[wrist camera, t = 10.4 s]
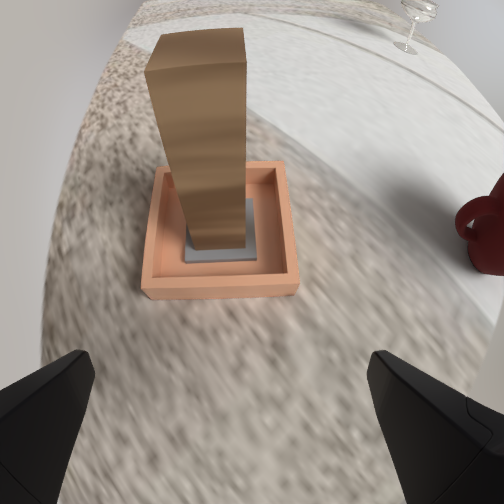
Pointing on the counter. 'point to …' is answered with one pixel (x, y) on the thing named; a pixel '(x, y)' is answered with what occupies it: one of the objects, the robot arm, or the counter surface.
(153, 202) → the dish
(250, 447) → the counter surface
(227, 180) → the wood grain bar
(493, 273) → the mug
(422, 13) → the wineglass
